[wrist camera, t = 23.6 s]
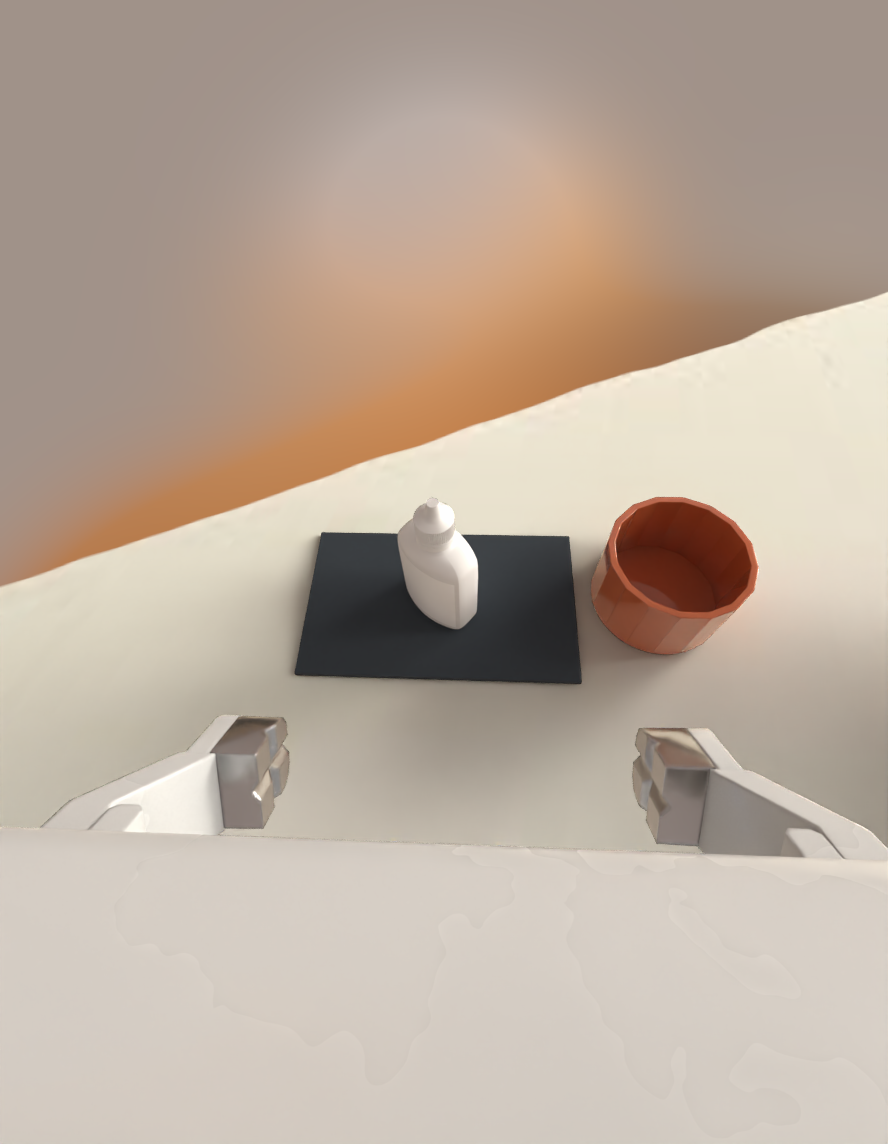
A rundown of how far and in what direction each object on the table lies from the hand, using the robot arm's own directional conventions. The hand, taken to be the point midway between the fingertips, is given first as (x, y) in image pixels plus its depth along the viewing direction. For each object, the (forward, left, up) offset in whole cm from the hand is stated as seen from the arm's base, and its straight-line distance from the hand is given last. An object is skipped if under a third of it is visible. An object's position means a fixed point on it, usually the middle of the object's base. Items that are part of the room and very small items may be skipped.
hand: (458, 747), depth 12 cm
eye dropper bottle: (-2, +15, -23) cm, 28 cm away
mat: (-2, +15, -23) cm, 28 cm away
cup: (+14, +16, -23) cm, 32 cm away
